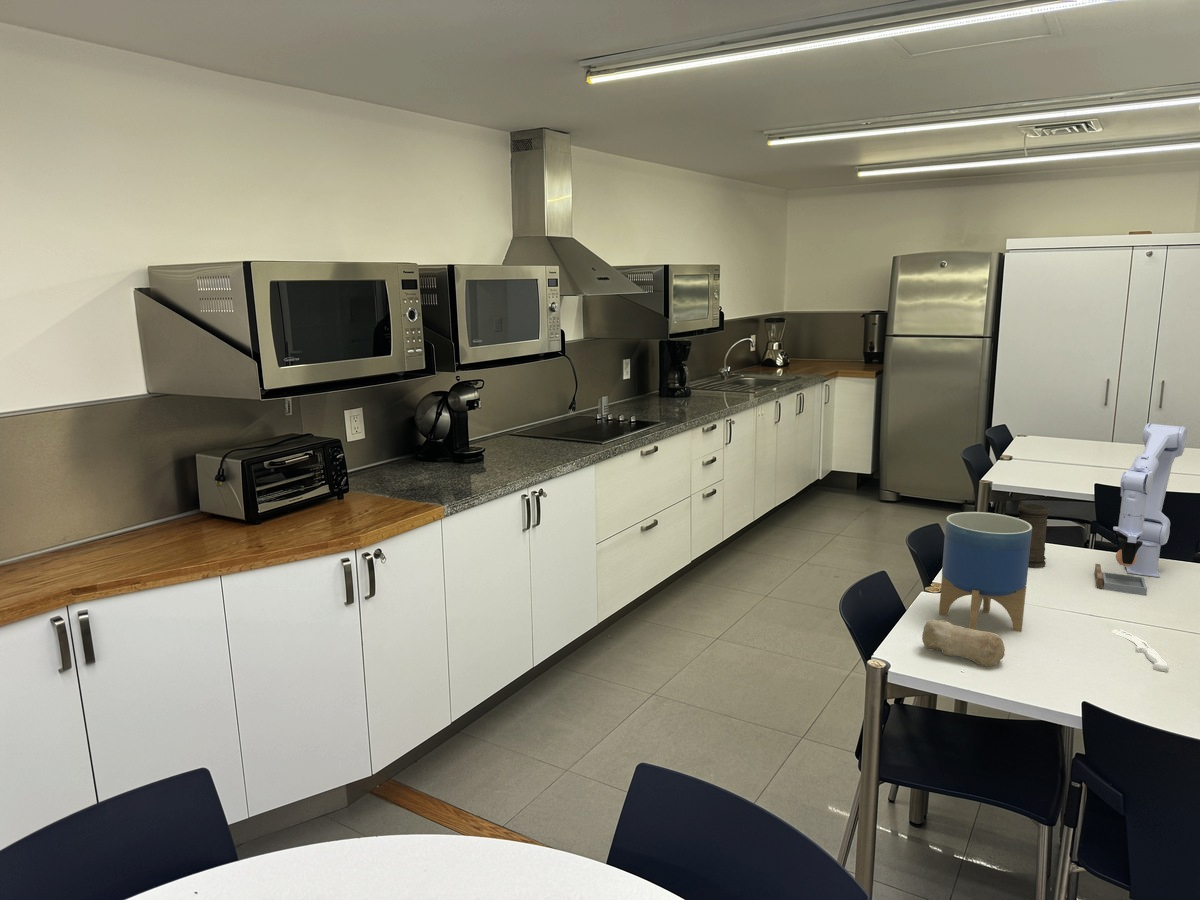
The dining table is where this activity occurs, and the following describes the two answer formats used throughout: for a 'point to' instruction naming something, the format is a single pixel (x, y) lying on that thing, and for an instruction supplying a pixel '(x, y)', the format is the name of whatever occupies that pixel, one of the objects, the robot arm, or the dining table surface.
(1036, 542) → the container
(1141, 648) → the knife
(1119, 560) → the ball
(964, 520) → the planter
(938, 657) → the dining table surface
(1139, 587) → the tray
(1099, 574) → the rail
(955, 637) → the tan rounded lump
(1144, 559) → the robot arm
